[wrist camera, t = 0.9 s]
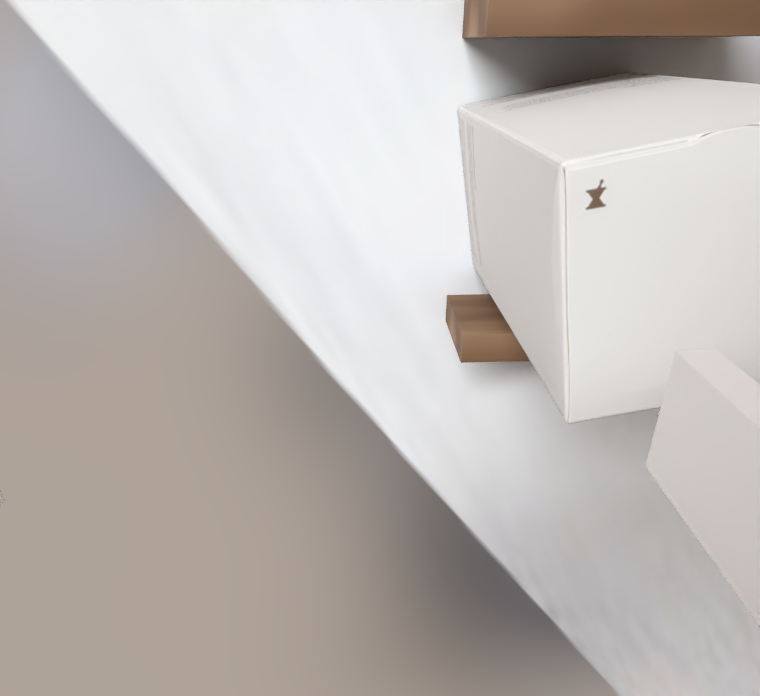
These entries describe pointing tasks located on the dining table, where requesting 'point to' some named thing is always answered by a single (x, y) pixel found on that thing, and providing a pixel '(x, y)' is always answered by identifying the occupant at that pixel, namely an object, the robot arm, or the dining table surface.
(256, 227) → the dining table surface
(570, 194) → the supplement box
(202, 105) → the dining table surface
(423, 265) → the dining table surface
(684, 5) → the wooden blocks
